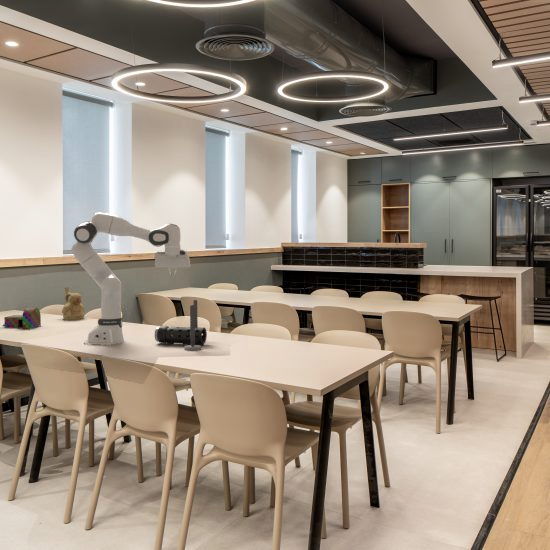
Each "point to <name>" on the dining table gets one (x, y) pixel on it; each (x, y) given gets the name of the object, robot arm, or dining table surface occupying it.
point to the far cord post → (195, 313)
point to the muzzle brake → (179, 335)
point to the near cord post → (192, 332)
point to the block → (24, 319)
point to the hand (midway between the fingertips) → (172, 275)
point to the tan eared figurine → (72, 306)
